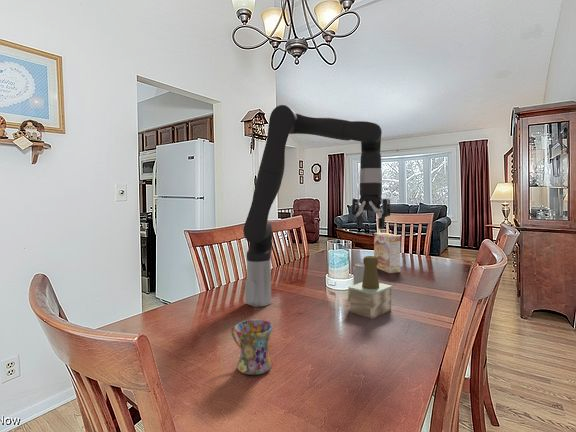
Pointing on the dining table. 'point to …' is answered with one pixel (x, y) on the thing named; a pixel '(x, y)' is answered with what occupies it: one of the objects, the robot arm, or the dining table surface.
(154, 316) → the dining table surface
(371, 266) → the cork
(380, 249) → the coffeecake box
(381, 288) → the lid
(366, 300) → the box
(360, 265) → the can
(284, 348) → the dining table surface
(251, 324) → the mug
